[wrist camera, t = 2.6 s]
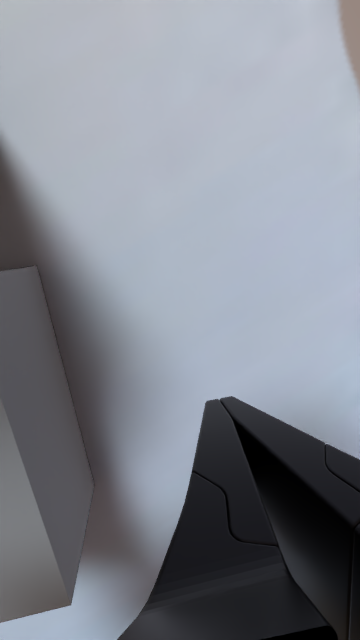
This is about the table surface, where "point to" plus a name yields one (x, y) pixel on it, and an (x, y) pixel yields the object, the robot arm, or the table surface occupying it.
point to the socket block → (37, 457)
